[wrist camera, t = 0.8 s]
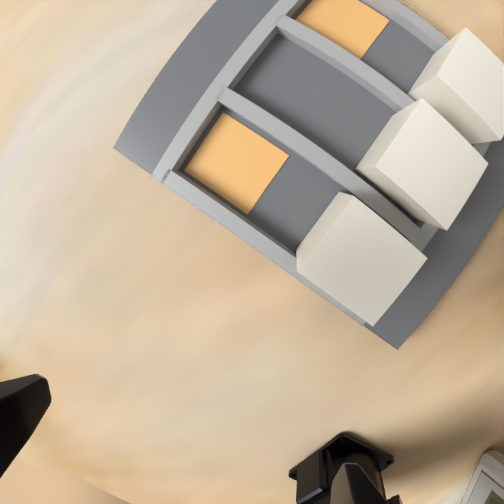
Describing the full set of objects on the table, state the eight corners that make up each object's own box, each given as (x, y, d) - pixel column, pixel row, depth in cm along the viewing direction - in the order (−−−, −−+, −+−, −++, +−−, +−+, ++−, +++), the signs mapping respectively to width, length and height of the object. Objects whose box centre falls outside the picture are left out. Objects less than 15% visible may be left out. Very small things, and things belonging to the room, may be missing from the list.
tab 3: (398, 239, 15) (427, 258, 11) (356, 293, 16) (372, 326, 12) (338, 191, 15) (353, 196, 11) (296, 249, 16) (296, 271, 12)
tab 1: (485, 101, 13) (525, 88, 9) (460, 145, 14) (501, 140, 10) (434, 53, 13) (465, 27, 9) (405, 96, 14) (436, 75, 10)
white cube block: (448, 165, 14) (488, 163, 10) (413, 218, 15) (447, 230, 11) (392, 115, 14) (421, 97, 10) (355, 169, 15) (374, 166, 11)
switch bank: (522, 142, 14) (544, 140, 12) (391, 338, 18) (401, 358, 16) (274, -42, 14) (271, -64, 11) (125, 149, 18) (103, 146, 15)
